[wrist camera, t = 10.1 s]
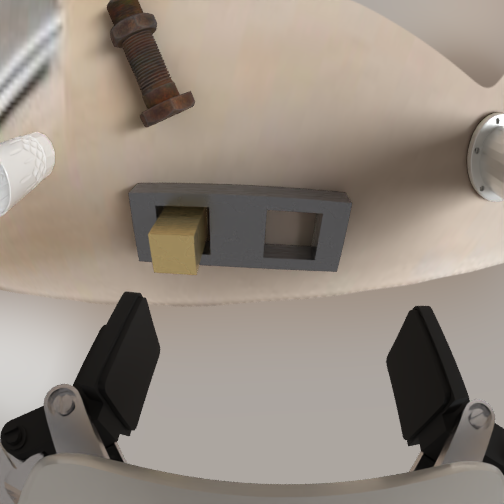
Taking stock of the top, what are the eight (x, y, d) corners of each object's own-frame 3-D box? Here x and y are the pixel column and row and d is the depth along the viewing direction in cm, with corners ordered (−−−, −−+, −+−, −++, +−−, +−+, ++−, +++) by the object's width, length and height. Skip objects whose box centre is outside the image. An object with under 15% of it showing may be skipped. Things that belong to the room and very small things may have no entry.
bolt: (139, 2, 23) (185, 110, 30) (97, 18, 22) (143, 129, 29) (147, -22, 18) (200, 102, 25) (97, -5, 17) (150, 125, 24)
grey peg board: (345, 192, 34) (352, 203, 31) (332, 257, 38) (336, 271, 36) (137, 183, 33) (128, 192, 31) (146, 248, 38) (139, 261, 36)
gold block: (206, 201, 35) (193, 236, 28) (207, 235, 37) (196, 275, 30) (169, 200, 35) (148, 234, 28) (172, 233, 37) (154, 272, 30)
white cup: (59, 186, 33) (14, 222, 25) (19, 179, 33) (-26, 211, 24) (60, 128, 29) (7, 153, 21) (17, 125, 28) (-34, 149, 20)
